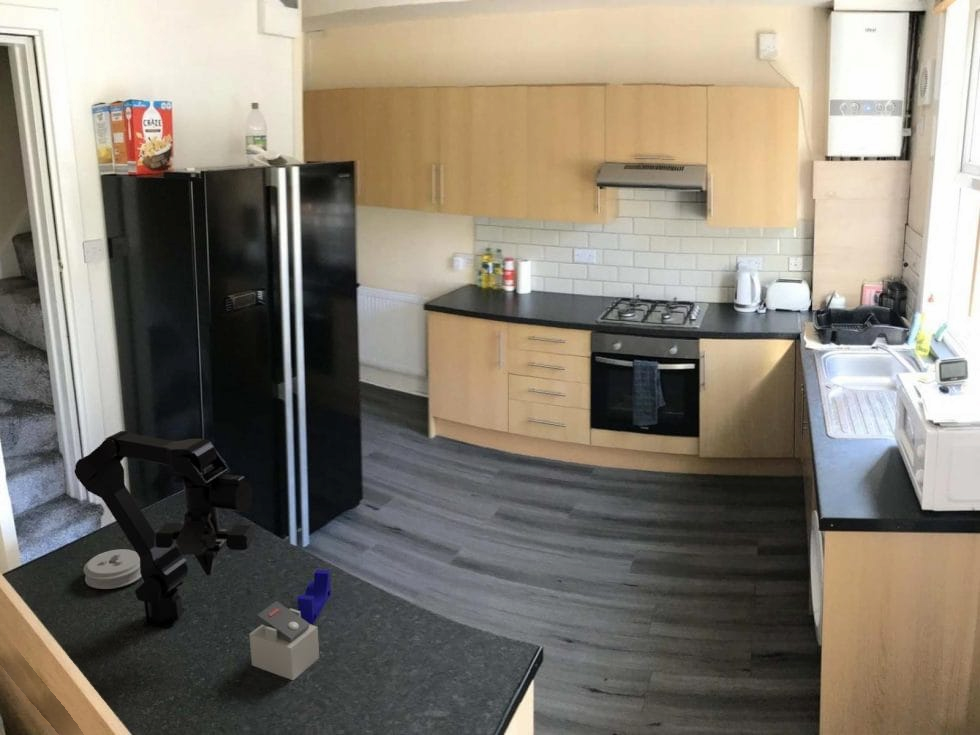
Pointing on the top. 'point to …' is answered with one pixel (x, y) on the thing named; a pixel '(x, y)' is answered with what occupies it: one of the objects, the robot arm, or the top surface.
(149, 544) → the robot arm
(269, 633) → the switch box
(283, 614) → the rocker
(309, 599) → the blue notched block
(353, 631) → the top surface
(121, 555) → the lid
